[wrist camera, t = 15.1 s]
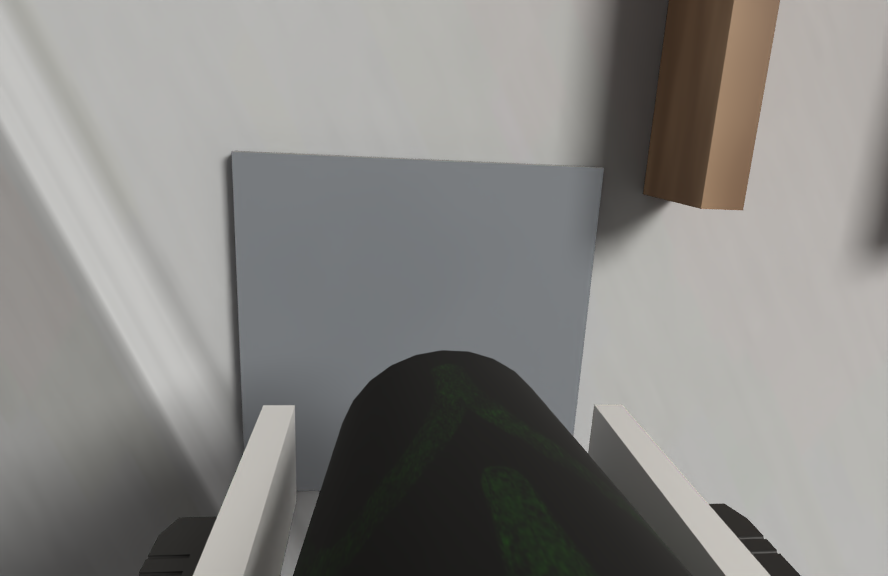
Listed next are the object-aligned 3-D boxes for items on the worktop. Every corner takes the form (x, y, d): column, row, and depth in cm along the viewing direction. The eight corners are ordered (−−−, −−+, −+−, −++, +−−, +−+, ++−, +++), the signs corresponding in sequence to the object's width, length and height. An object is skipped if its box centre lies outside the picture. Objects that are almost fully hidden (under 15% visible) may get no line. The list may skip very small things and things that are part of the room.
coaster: (248, 483, 26) (245, 492, 25) (235, 150, 22) (231, 151, 21) (563, 477, 27) (567, 485, 27) (598, 167, 24) (603, 168, 23)
